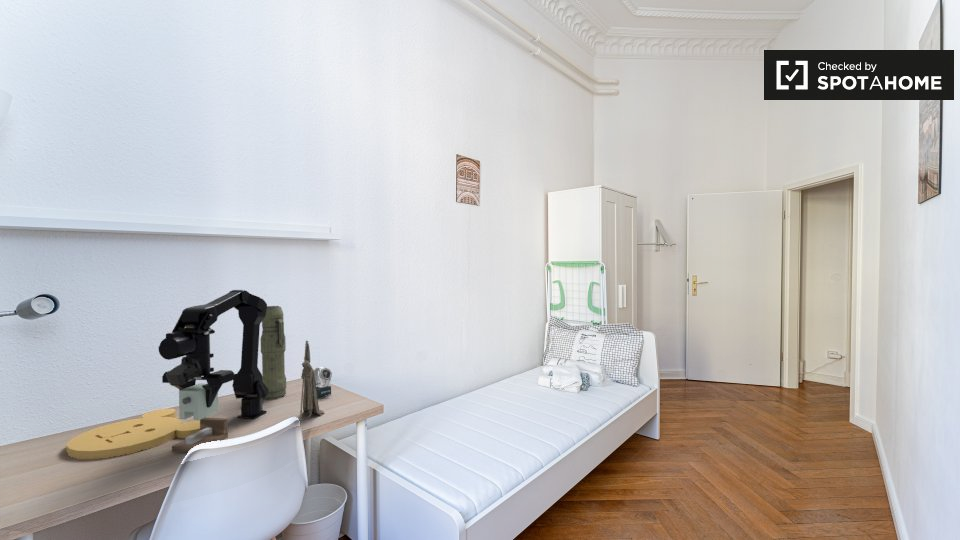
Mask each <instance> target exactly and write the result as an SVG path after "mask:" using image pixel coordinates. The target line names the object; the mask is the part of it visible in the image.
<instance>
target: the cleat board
mask: <svg viewBox="0 0 960 540" xmlns="http://www.w3.org/2000/svg"><path fill="white" fill-rule="evenodd" d="M228 420H229V419H228V418H220V417H209V416H207V417H205V418H203V419H200V431H198V432H196V433H194V434H192V435H190V436H188V437H186V438H184V439H183V440H181V441H179V442H177V443H175V444H173V445H171V452H174V451H176V452H175V453H177V451H178V453H188V451H189V450H190V449H191V448H193V447H194V446H196V445H199V444H201V443H206V442H211V441H217V440H221V441H223V440H225V439H227V438H228V437H229V428H228V427H229V425H228V424H229V423H228Z"/></svg>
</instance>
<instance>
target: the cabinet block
mask: <svg viewBox="0 0 960 540" xmlns="http://www.w3.org/2000/svg"><path fill="white" fill-rule="evenodd" d="M205 384H206V383H197V384H195V385H194V386H191V387H188V388H185V389H182V390H179V389H178V398H179V399H178V405H179V409H178V410H179V411H178V412H179V420H187V419H188V418H192V417H193V421H196V420H200V419H203V418H205V417H209V416H212V415H214V414H216V413H219V392H218V393H217V395H216V397H215V399H214V401H213V403H212V405H211V407H209V408H207V405H206V391H205V389H204V388H203V387H202V385H205Z"/></svg>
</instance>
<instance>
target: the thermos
mask: <svg viewBox="0 0 960 540" xmlns="http://www.w3.org/2000/svg"><path fill="white" fill-rule="evenodd" d="M284 321H285V320H284V311H283V309H282V307H281V306H280V305H267V310H266V316H265V318H264V319H263V321H262V322H261V327H262V328H261V329H262V330H261V337H260V354H261V364H262V366H261V367H262V369H261V370H262V371H261V372H262V373H261V374H262V382H263V383H264V384H265V385H266V387H267V388H268V395H267V396H266V397H265V398H262V400H274V399H273V398H276V399H279V398H278V397H281V398H283V397H285V396H286V395H287V390H286V389H287V377H286V373H285V372H286V371H285V369H286V367H285V352H286V348H287V347H286V342H287V341H286V335H285V322H284ZM285 394H286V395H285ZM284 395H285V396H284ZM282 396H283V397H282Z"/></svg>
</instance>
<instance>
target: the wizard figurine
mask: <svg viewBox="0 0 960 540" xmlns="http://www.w3.org/2000/svg"><path fill="white" fill-rule="evenodd" d="M304 345H305V346H304V357H303V362H302V363H301V366H302V371H301V376H300V377H301V378H300V379H302V386H301V402H300V412H299V413H300V414H299V415H300V418H302V413H303V412H306V413H305V414H306V415H308V416H307V417H306V419H310V418H311V417H312V416H313V413H315V414H317V415H319V416H321V417H322V416H323V415H324V414H325V411H324V410H321V409H320V405H319V400H318V399H319V398H317V390H316V387H317V386H316V381H315V375H314V370H315V369H314V368H313V367H312V364H311V352H310V350H311V349H310V344H309V341H308V340H305V344H304Z"/></svg>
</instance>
